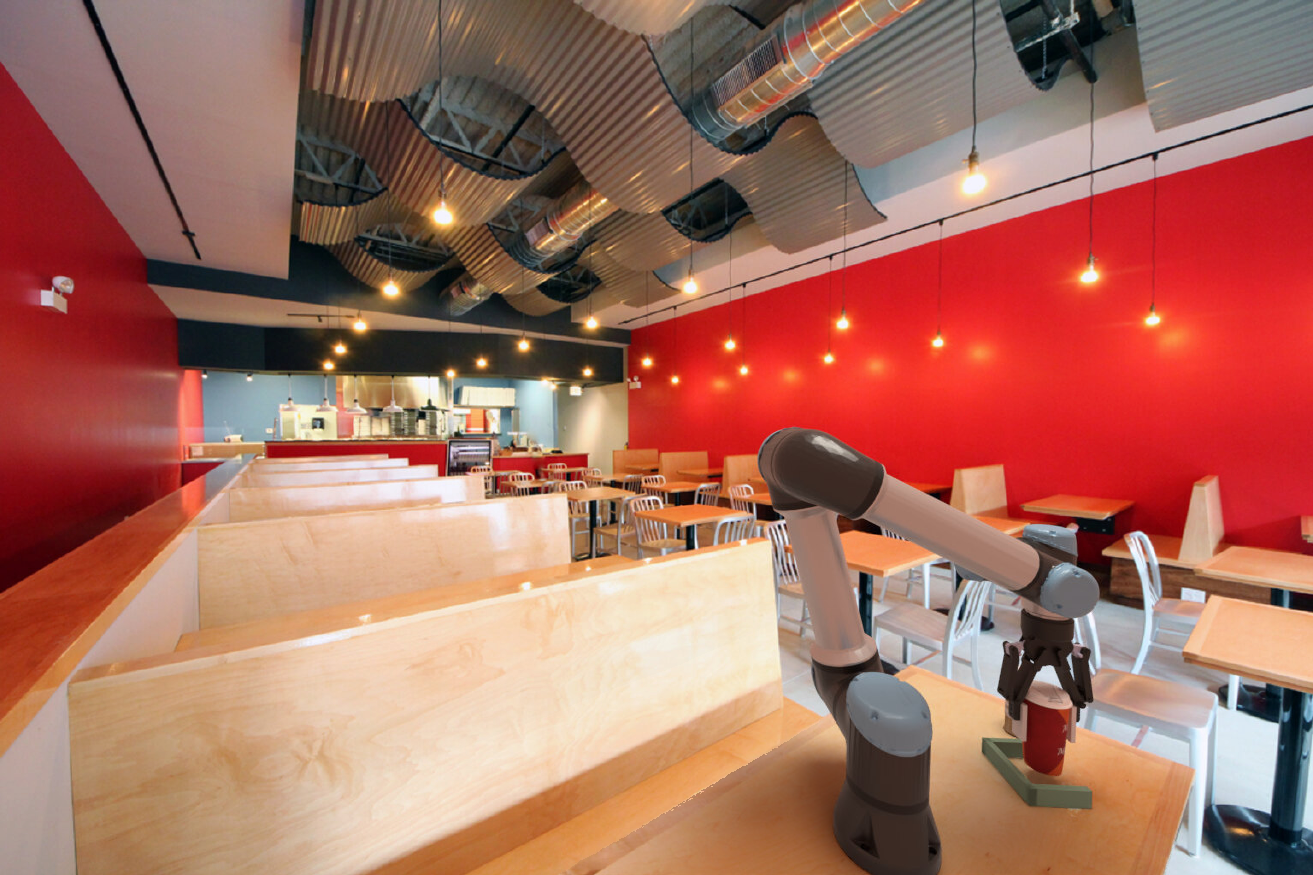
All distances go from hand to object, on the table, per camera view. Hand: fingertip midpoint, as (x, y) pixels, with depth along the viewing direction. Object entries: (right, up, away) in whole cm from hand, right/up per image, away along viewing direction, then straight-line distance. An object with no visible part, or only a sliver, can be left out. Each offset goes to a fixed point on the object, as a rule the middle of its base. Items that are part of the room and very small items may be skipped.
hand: (1043, 737), depth 89 cm
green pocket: (-2, -8, 0) cm, 8 cm away
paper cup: (0, -5, 0) cm, 5 cm away
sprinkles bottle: (+5, -7, +14) cm, 16 cm away
